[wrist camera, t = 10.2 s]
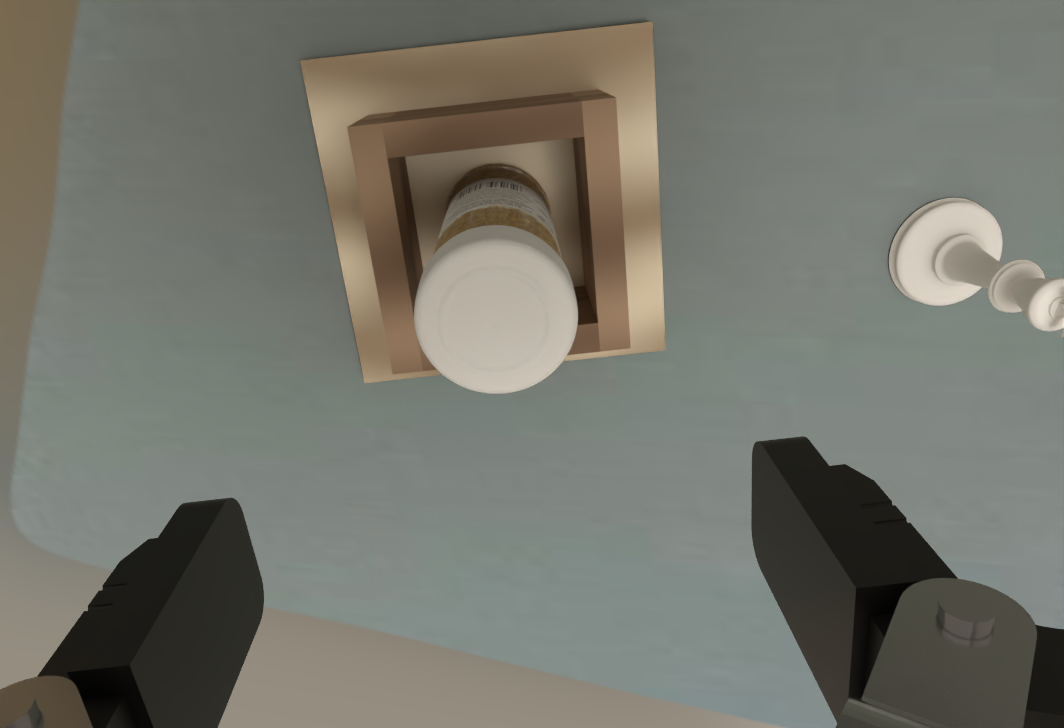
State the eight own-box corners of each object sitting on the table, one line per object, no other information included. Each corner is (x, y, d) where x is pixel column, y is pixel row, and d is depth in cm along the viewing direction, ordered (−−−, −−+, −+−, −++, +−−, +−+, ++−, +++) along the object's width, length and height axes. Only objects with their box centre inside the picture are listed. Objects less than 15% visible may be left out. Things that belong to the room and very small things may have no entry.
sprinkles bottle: (439, 257, 34) (402, 387, 22) (453, 151, 33) (421, 228, 20) (542, 273, 35) (563, 409, 22) (561, 170, 33) (595, 255, 21)
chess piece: (877, 300, 37) (1005, 386, 28) (902, 194, 35) (1049, 248, 26) (978, 305, 37) (1138, 393, 28) (1009, 200, 35) (1191, 257, 26)
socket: (304, 60, 32) (265, 63, 26) (649, 22, 32) (679, 18, 26) (367, 376, 37) (345, 432, 32) (662, 343, 37) (690, 394, 32)
